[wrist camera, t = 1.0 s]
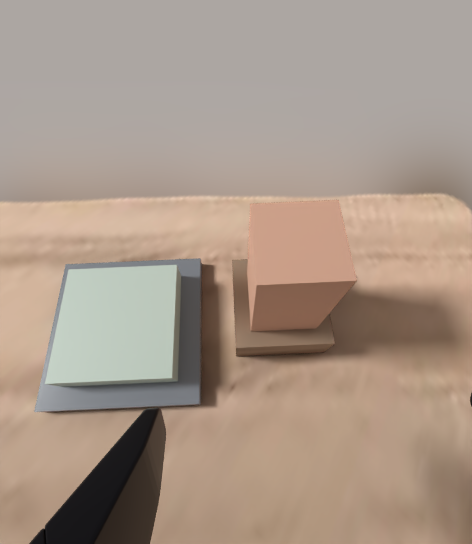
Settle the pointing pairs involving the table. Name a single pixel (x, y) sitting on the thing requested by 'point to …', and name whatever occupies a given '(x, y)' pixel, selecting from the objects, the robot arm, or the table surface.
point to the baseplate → (139, 393)
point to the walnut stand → (275, 339)
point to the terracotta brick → (296, 264)
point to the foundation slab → (117, 327)
